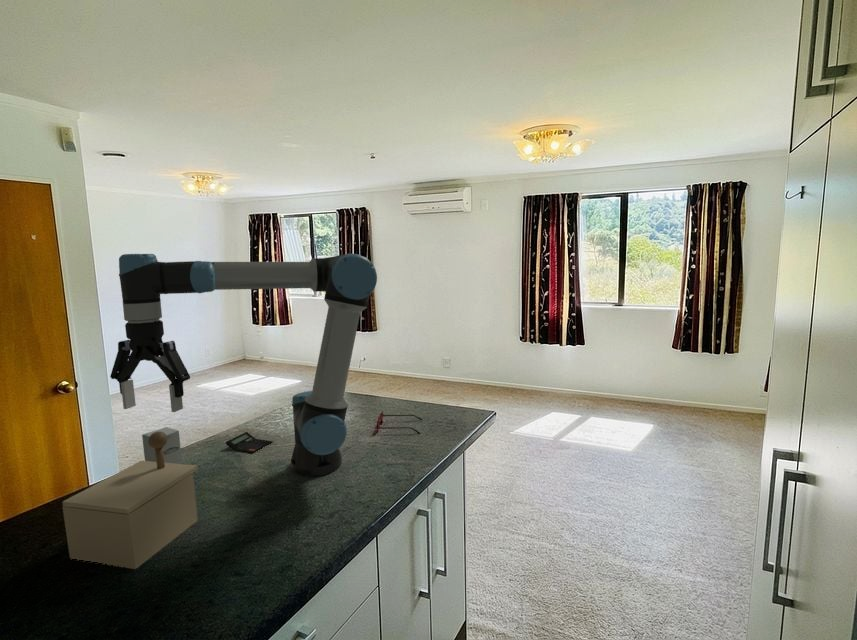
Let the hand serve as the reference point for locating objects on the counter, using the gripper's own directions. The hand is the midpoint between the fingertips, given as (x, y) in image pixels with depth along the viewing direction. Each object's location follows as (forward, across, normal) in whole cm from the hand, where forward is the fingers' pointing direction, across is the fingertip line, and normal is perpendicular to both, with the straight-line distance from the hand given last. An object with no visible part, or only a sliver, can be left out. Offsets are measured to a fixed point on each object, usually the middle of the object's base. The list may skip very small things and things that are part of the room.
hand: (153, 409), depth 110 cm
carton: (+28, 0, +8) cm, 29 cm away
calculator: (+28, +6, -44) cm, 53 cm away
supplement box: (+28, +20, -22) cm, 41 cm away
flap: (+16, 0, +7) cm, 17 cm away
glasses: (+28, -40, -69) cm, 84 cm away
